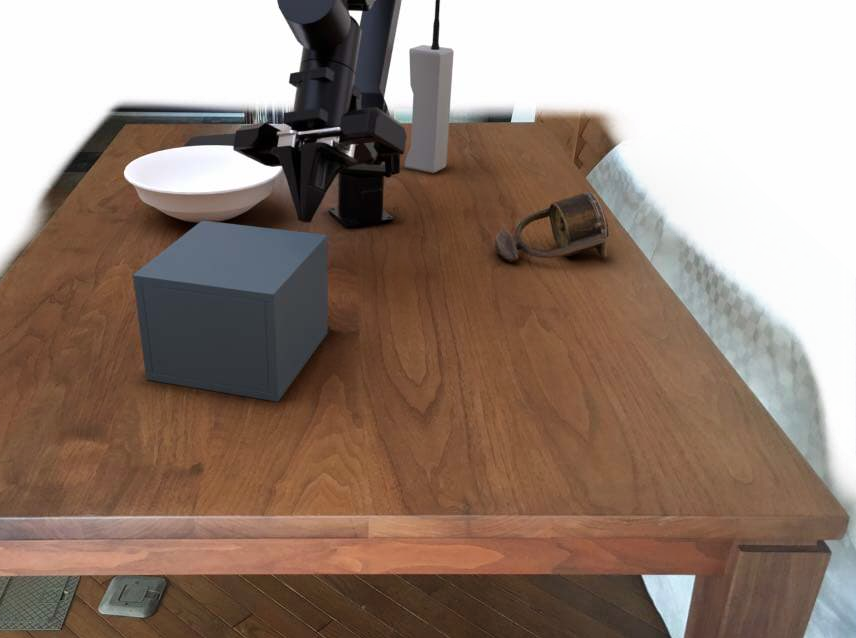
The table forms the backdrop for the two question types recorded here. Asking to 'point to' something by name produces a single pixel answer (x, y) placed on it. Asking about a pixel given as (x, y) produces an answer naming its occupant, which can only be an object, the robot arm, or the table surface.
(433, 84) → the vintage mobile phone
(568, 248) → the brass cylinder with loop
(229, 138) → the carrying case
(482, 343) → the table surface
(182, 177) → the bowl
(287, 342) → the cabinet
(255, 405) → the table surface
